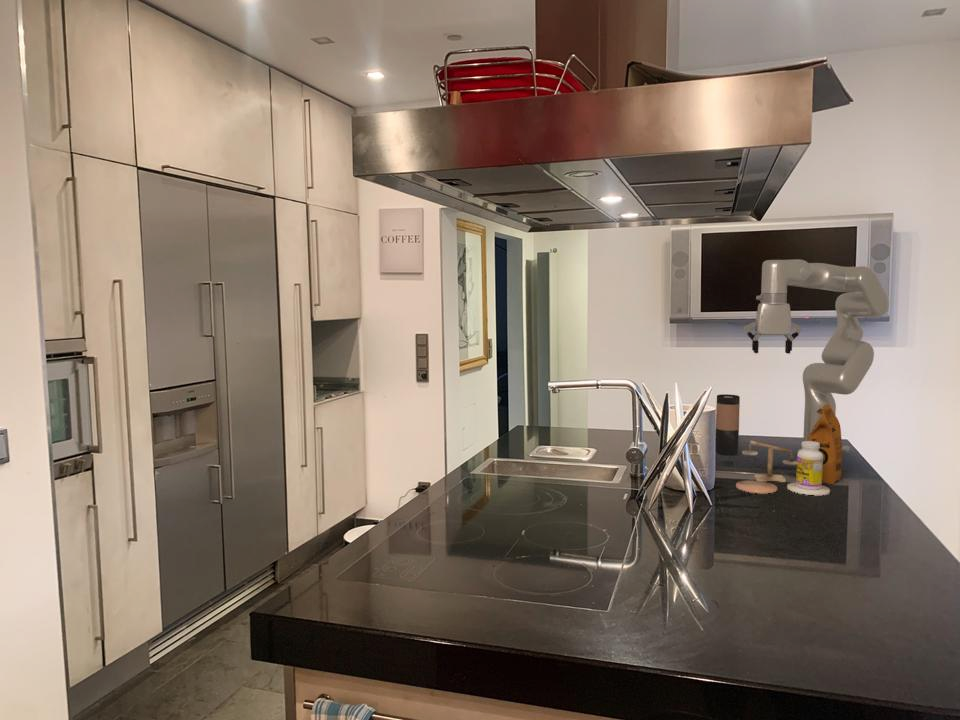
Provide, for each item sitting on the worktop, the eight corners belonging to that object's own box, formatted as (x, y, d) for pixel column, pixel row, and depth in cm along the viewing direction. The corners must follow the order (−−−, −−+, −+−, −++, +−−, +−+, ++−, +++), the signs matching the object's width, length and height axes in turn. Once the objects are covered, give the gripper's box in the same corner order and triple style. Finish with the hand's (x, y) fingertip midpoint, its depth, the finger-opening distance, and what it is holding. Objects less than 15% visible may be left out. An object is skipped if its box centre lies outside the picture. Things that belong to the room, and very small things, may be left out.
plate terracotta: (771, 483, 207) (771, 481, 207) (781, 494, 197) (782, 491, 196) (732, 482, 209) (732, 479, 209) (740, 493, 198) (740, 490, 198)
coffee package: (798, 480, 211) (801, 407, 209) (810, 471, 221) (813, 402, 218) (835, 486, 205) (838, 411, 203) (845, 477, 214) (848, 405, 212)
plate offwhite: (822, 485, 205) (822, 482, 205) (835, 496, 195) (835, 493, 194) (782, 484, 207) (782, 481, 207) (793, 495, 196) (793, 492, 196)
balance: (795, 478, 213) (797, 440, 212) (800, 482, 208) (801, 443, 207) (739, 476, 215) (741, 438, 214) (742, 480, 211) (744, 442, 210)
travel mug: (740, 452, 247) (742, 395, 245) (735, 456, 241) (737, 398, 239) (717, 449, 251) (719, 393, 249) (712, 453, 245) (714, 396, 243)
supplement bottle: (790, 485, 203) (792, 440, 202) (810, 483, 205) (811, 439, 204) (807, 491, 197) (809, 445, 196) (827, 489, 199) (829, 444, 197)
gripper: (747, 299, 222) (746, 354, 224) (806, 299, 219) (803, 354, 221) (742, 299, 229) (740, 351, 231) (799, 299, 227) (796, 352, 229)
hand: (771, 353), depth 226 cm, fingers open, 9 cm apart
